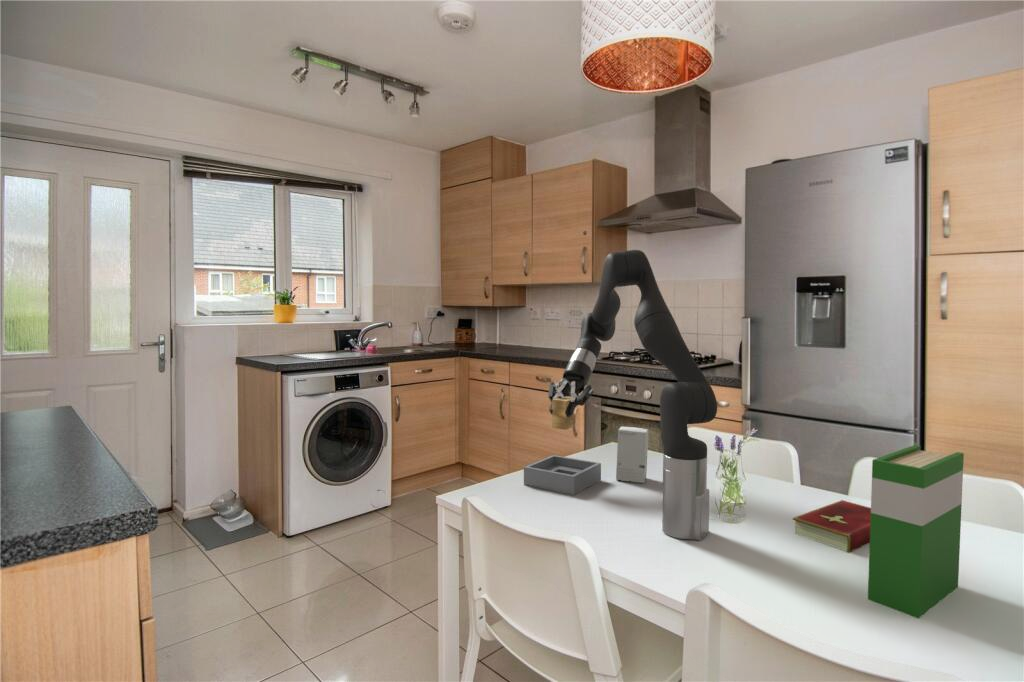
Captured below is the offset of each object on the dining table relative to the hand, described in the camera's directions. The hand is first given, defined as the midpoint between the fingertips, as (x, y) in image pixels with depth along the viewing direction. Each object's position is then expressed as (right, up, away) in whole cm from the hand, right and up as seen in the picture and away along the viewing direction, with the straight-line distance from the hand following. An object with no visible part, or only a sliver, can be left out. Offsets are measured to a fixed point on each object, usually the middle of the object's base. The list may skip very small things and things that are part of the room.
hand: (559, 414), depth 159 cm
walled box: (+1, -20, +3) cm, 20 cm away
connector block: (+1, -4, +2) cm, 5 cm away
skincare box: (+21, -20, +6) cm, 30 cm away
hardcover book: (+60, -22, -34) cm, 72 cm away
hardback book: (+56, -23, -60) cm, 86 cm away
